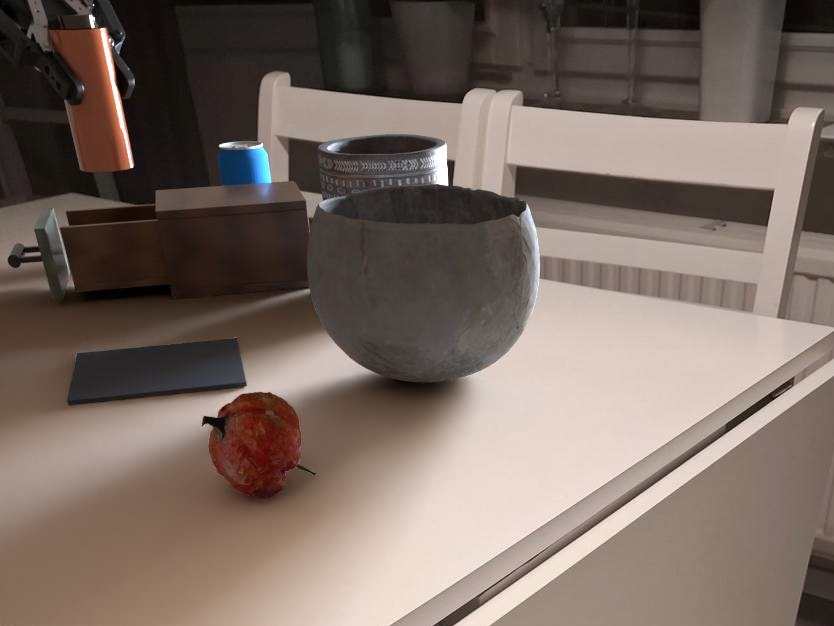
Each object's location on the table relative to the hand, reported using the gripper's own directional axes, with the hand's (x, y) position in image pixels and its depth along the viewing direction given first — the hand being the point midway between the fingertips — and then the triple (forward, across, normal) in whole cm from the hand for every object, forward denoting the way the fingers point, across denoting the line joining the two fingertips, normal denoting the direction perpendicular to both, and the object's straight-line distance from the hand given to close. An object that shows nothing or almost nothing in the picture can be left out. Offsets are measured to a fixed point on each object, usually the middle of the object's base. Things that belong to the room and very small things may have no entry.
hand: (104, 94), depth 92 cm
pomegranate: (+41, -20, -10) cm, 46 cm away
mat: (+21, -6, +10) cm, 24 cm away
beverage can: (0, +36, +31) cm, 48 cm away
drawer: (+1, +10, +29) cm, 31 cm away
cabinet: (+8, +22, +22) cm, 33 cm away
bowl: (+37, +7, -6) cm, 39 cm away
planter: (+22, +28, +9) cm, 37 cm away
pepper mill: (+3, 0, +6) cm, 6 cm away
